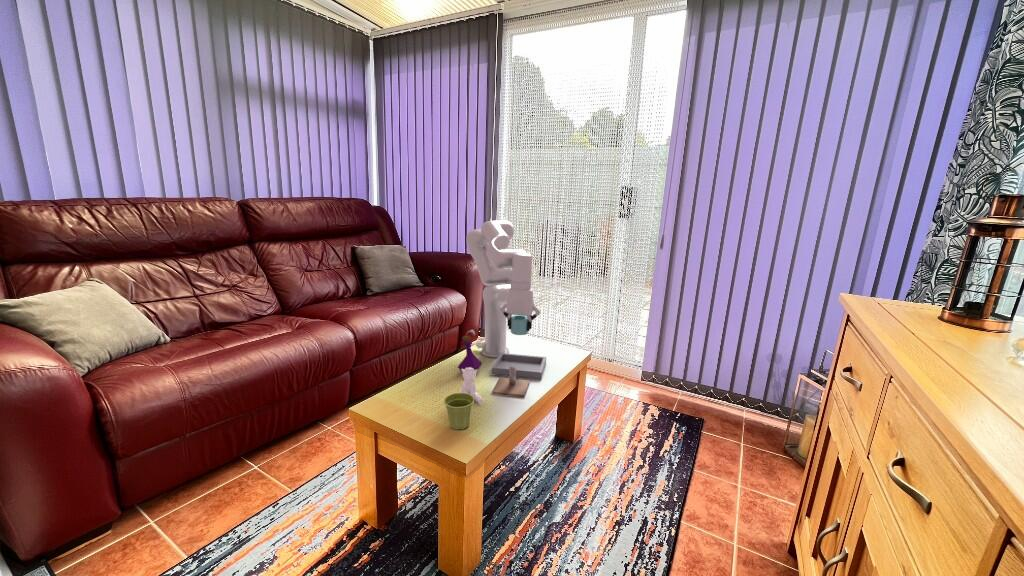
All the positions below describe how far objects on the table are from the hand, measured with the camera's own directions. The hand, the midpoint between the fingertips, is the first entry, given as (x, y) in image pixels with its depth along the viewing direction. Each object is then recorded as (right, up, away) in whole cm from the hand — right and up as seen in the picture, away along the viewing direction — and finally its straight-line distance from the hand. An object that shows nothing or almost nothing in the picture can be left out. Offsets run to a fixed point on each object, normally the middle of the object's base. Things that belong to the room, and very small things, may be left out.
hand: (519, 328), depth 163 cm
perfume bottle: (-20, -18, +5) cm, 28 cm away
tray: (0, -17, +9) cm, 20 cm away
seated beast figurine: (-18, -24, -17) cm, 34 cm away
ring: (0, -1, 0) cm, 1 cm away
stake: (-3, -21, -8) cm, 23 cm away
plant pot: (-19, -27, -33) cm, 47 cm away
